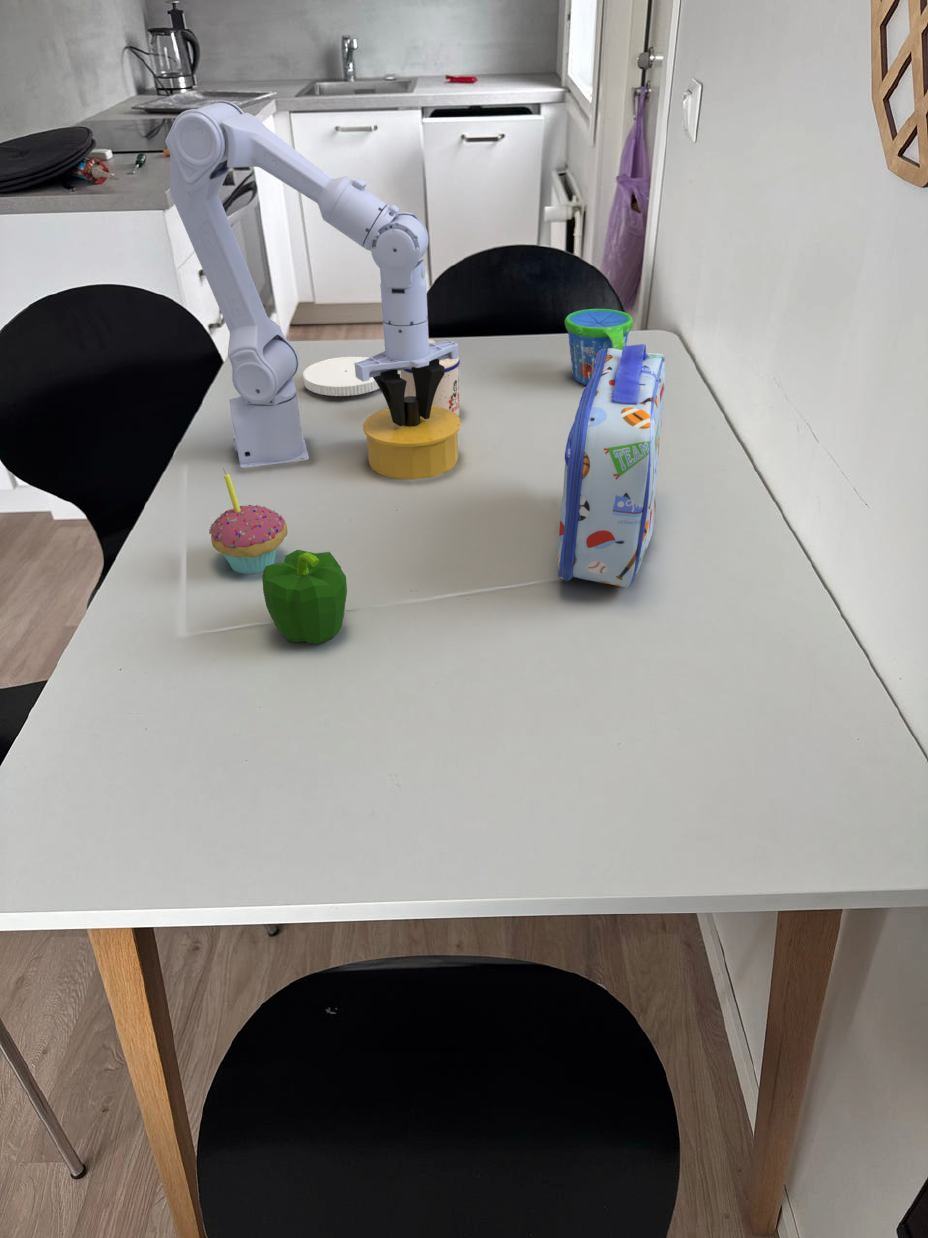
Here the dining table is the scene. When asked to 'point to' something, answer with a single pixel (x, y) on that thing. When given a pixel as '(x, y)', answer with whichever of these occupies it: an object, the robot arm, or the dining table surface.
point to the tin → (413, 459)
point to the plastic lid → (337, 377)
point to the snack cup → (594, 337)
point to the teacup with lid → (440, 385)
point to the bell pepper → (306, 596)
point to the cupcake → (247, 534)
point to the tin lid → (412, 426)
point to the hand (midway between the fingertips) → (411, 420)
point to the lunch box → (612, 468)
